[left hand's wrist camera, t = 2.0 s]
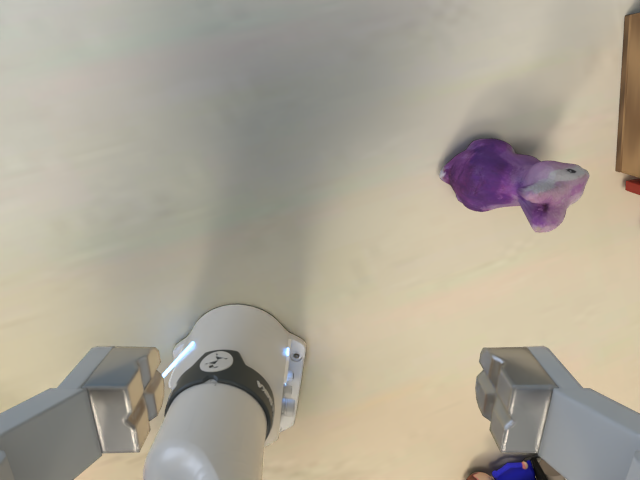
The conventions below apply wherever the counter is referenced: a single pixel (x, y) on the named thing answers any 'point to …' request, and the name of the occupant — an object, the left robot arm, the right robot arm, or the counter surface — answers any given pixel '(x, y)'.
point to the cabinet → (630, 100)
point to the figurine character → (521, 471)
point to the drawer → (633, 186)
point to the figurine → (514, 182)
